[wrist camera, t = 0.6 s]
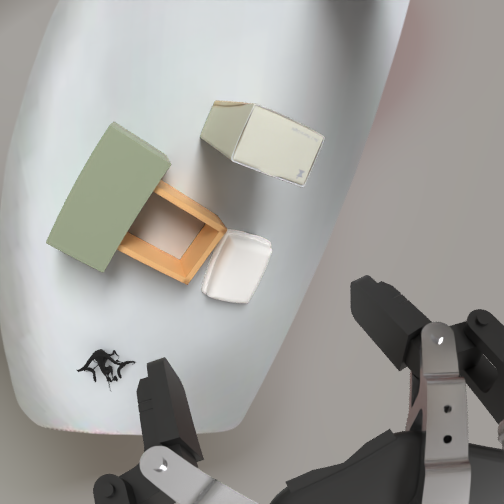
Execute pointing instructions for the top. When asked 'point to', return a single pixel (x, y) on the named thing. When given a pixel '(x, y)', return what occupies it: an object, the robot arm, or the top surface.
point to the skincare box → (263, 140)
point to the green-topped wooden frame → (127, 208)
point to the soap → (236, 266)
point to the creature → (101, 359)
